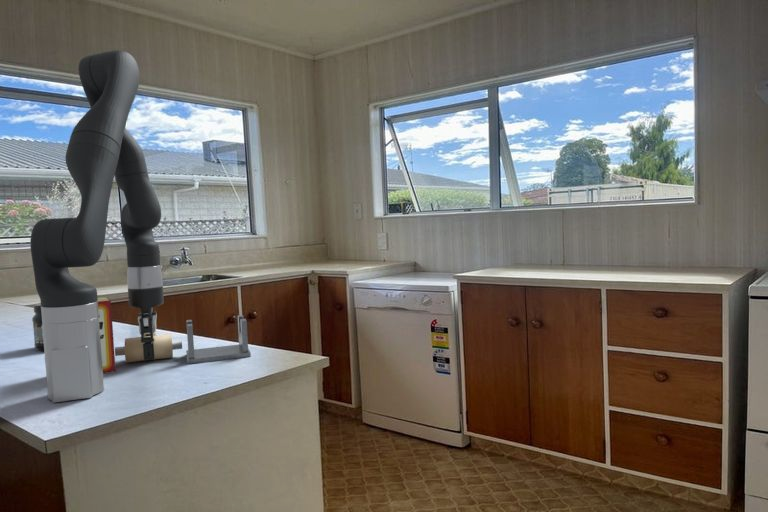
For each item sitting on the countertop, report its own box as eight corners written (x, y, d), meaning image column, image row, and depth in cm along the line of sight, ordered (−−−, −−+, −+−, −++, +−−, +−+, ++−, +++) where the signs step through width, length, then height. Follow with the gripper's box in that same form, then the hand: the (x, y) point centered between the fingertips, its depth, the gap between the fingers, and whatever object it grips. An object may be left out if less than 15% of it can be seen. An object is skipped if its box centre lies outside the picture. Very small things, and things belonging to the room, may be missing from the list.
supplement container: (73, 341, 151) (70, 299, 151) (85, 346, 144) (82, 301, 143) (30, 348, 144) (26, 304, 143) (40, 354, 137) (36, 307, 136)
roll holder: (250, 356, 126) (248, 320, 125) (187, 364, 121) (185, 326, 120) (245, 347, 135) (243, 314, 135) (186, 354, 130) (184, 319, 130)
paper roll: (182, 353, 132) (181, 331, 131) (182, 358, 126) (181, 334, 126) (117, 361, 126) (116, 337, 126) (114, 366, 121) (113, 341, 121)
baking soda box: (112, 365, 123) (107, 295, 122) (115, 371, 117) (110, 298, 116) (64, 372, 118) (59, 300, 117) (65, 379, 112) (59, 303, 111)
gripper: (162, 287, 120) (166, 361, 121) (163, 281, 133) (167, 348, 134) (124, 290, 117) (129, 366, 118) (130, 283, 131) (134, 351, 132)
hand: (149, 356), depth 126 cm, fingers closed on paper roll, 5 cm apart
